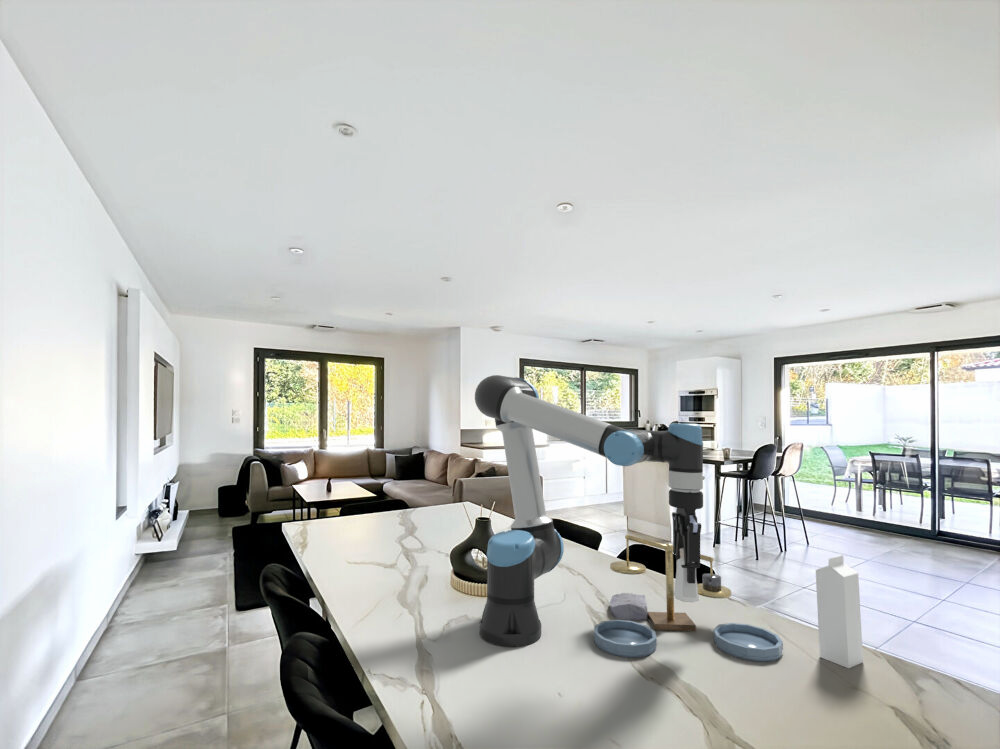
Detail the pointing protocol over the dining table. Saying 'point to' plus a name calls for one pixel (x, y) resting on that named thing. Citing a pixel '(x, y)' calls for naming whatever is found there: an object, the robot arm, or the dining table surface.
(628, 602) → the stone block
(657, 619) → the balance
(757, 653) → the dish low side
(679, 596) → the salt shaker
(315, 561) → the dining table surface
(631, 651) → the dish high side
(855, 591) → the milk
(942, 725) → the dining table surface
